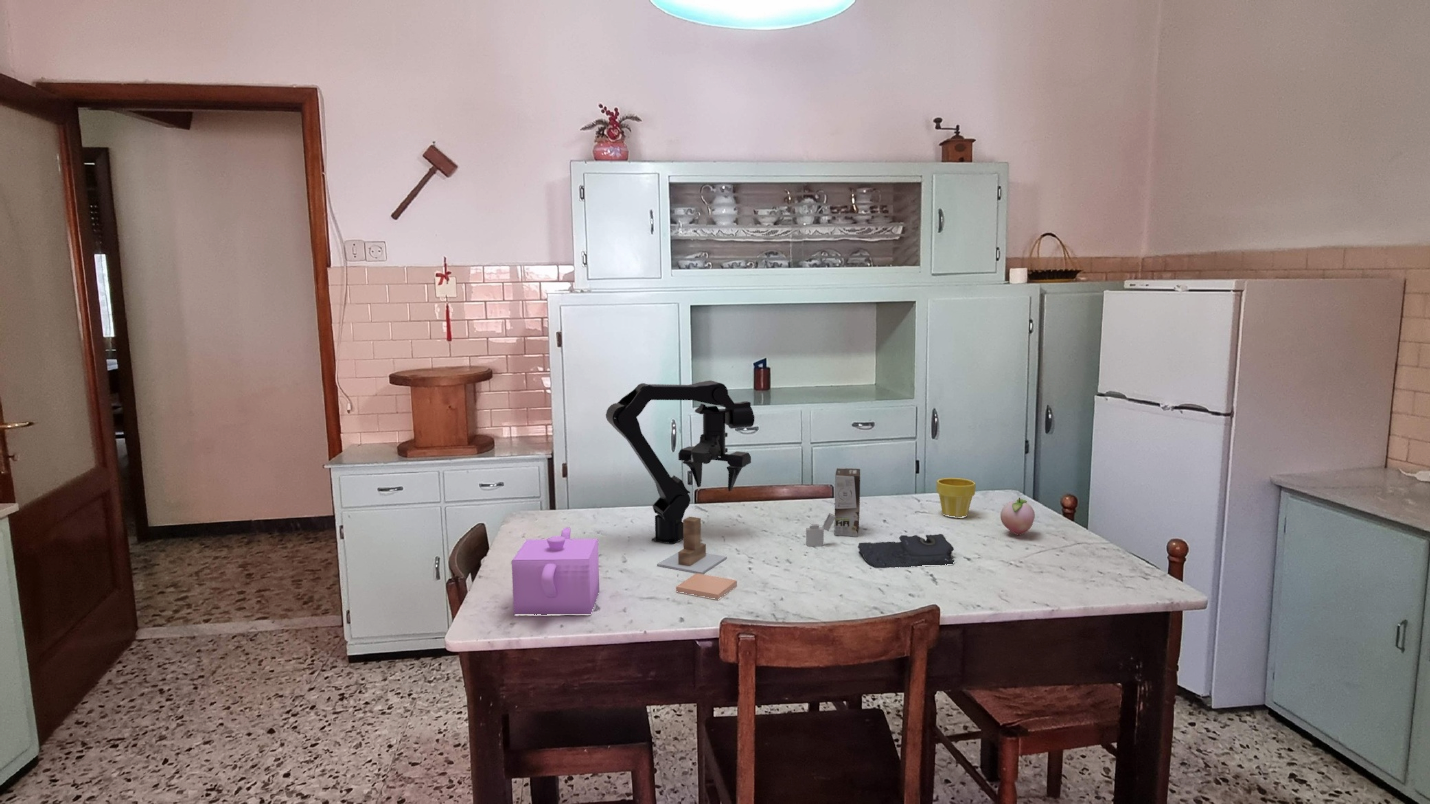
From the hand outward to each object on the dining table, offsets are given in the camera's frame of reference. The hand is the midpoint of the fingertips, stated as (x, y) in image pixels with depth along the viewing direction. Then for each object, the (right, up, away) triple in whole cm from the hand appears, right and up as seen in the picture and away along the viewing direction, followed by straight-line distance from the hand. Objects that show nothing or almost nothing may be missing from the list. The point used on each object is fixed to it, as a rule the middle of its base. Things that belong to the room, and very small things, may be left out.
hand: (714, 488), depth 209 cm
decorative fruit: (+78, -12, -1) cm, 79 cm away
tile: (0, -16, -33) cm, 37 cm away
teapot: (-32, -19, -43) cm, 57 cm away
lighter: (+27, -13, -8) cm, 31 cm away
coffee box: (+35, -12, +3) cm, 37 cm away
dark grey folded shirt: (+46, -15, -17) cm, 51 cm away
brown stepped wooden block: (-5, -15, -20) cm, 26 cm away
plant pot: (+68, -10, +17) cm, 71 cm away
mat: (-5, -15, -20) cm, 26 cm away
